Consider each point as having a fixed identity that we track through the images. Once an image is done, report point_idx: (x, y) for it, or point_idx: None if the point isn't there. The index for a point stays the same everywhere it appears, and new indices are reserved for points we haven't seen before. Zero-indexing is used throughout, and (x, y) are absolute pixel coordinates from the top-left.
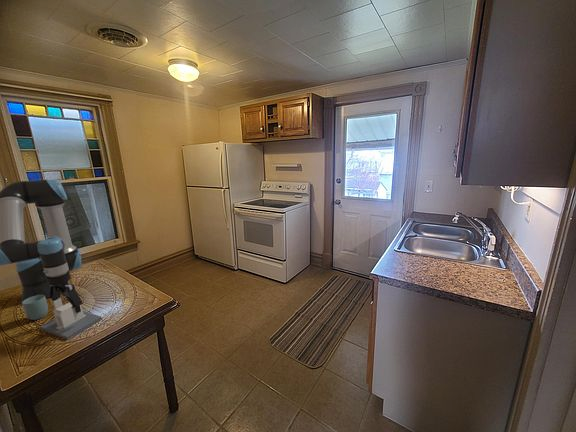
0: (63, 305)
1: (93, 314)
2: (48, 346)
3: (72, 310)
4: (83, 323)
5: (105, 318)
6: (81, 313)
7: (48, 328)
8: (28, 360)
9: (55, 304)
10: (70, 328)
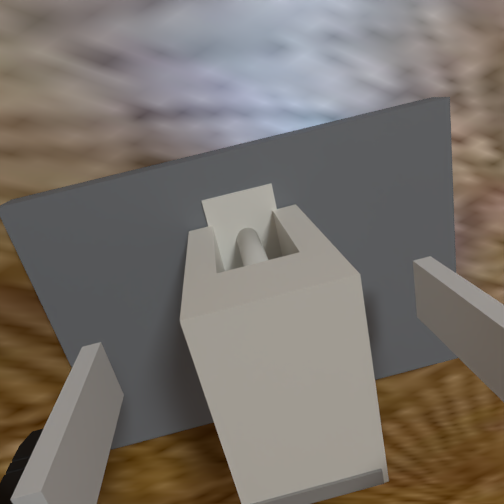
0: (225, 435)
1: (326, 130)
2: (395, 420)
3: (494, 392)
4: (398, 240)
5: (445, 70)
6: (455, 277)
7: (208, 415)
8: (423, 488)
9: (93, 495)
10: (370, 321)
